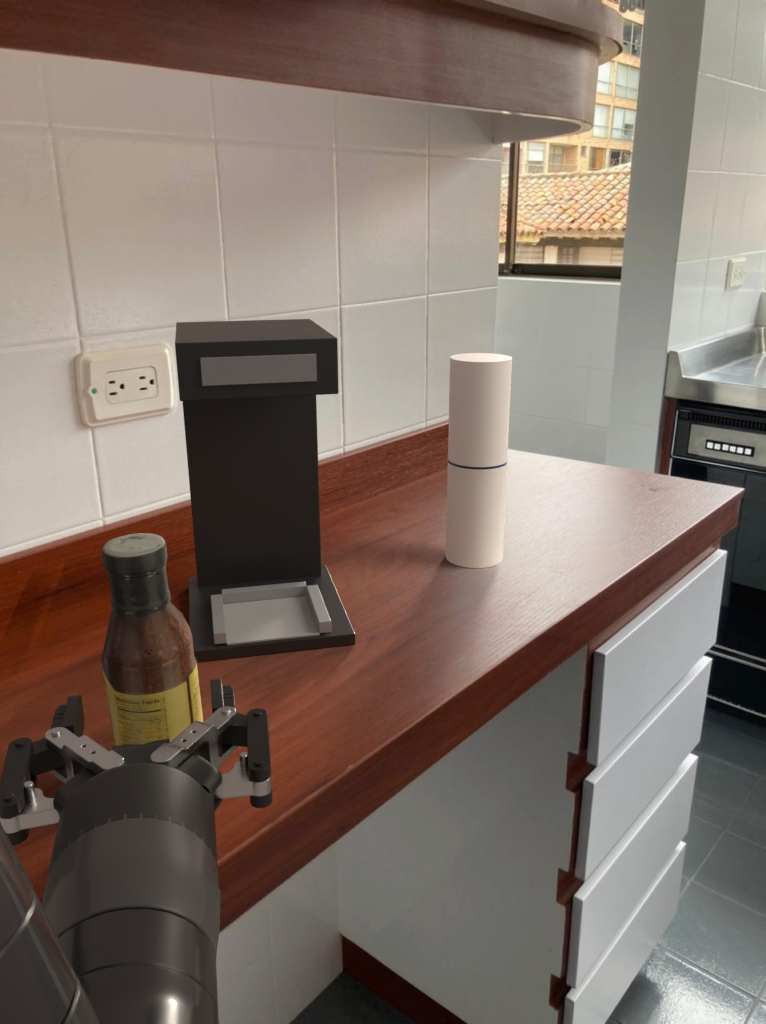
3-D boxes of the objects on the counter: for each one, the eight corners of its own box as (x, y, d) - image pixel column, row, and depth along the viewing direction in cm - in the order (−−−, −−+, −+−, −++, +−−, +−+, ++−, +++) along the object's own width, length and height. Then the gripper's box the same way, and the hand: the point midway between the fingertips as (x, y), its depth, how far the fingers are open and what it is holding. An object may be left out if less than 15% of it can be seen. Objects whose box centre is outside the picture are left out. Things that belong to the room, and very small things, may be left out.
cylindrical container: (440, 564, 100) (444, 360, 92) (451, 544, 107) (456, 352, 99) (498, 570, 99) (507, 363, 90) (506, 549, 105) (515, 354, 97)
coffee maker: (191, 663, 78) (162, 345, 68) (189, 587, 94) (166, 322, 85) (355, 644, 81) (350, 339, 71) (326, 574, 98) (319, 318, 88)
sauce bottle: (163, 756, 64) (138, 517, 57) (227, 779, 61) (208, 532, 55) (100, 806, 58) (64, 548, 52) (167, 834, 56) (138, 565, 49)
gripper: (288, 798, 37) (258, 634, 52) (-54, 850, 34) (18, 659, 49) (294, 927, 39) (263, 735, 54) (-24, 985, 36) (36, 765, 51)
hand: (147, 699), depth 52 cm, fingers open, 8 cm apart
